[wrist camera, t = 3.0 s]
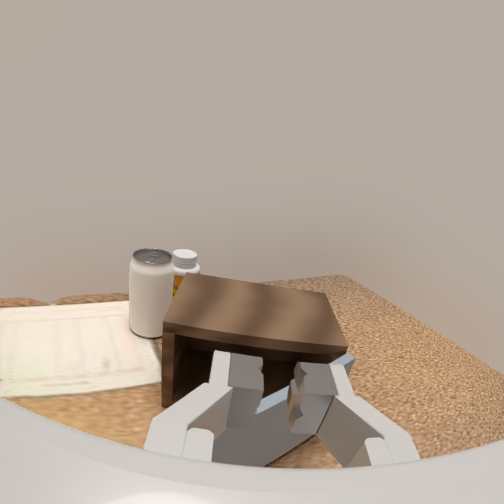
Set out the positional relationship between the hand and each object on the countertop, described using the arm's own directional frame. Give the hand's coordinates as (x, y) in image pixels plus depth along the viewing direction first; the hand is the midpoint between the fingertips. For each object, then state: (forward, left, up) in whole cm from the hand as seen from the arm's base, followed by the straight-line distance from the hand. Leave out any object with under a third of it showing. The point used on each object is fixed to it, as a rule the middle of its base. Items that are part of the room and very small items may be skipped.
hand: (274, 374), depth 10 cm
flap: (+2, +11, -21) cm, 24 cm away
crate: (-3, +23, -22) cm, 32 cm away
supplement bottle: (-17, +38, -22) cm, 47 cm away
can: (-19, +30, -22) cm, 42 cm away
